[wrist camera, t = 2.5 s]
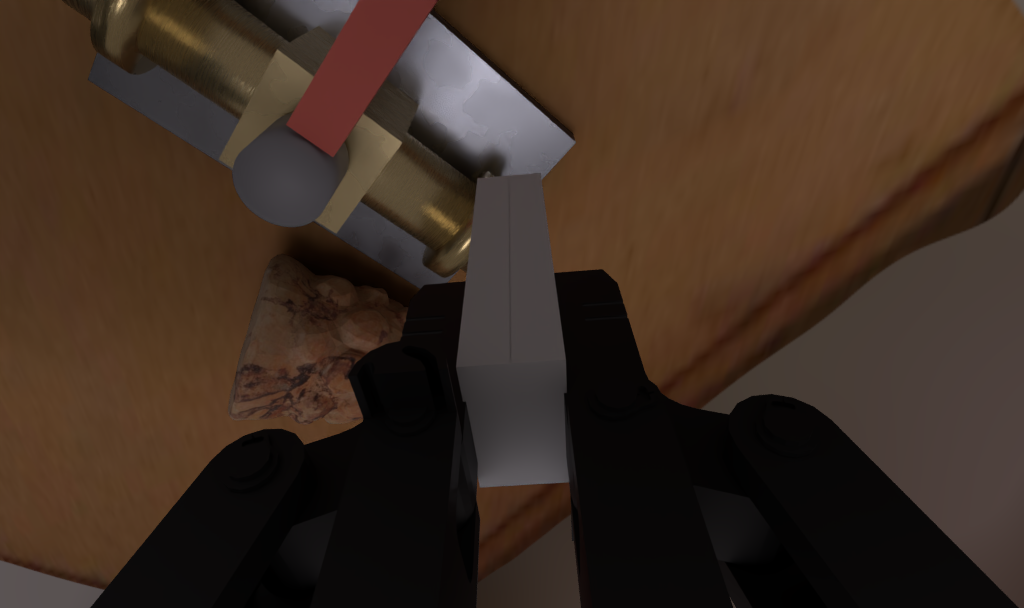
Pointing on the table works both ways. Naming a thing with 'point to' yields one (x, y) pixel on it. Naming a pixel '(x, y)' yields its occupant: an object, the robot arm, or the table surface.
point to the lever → (326, 116)
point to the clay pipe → (309, 344)
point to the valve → (375, 138)
